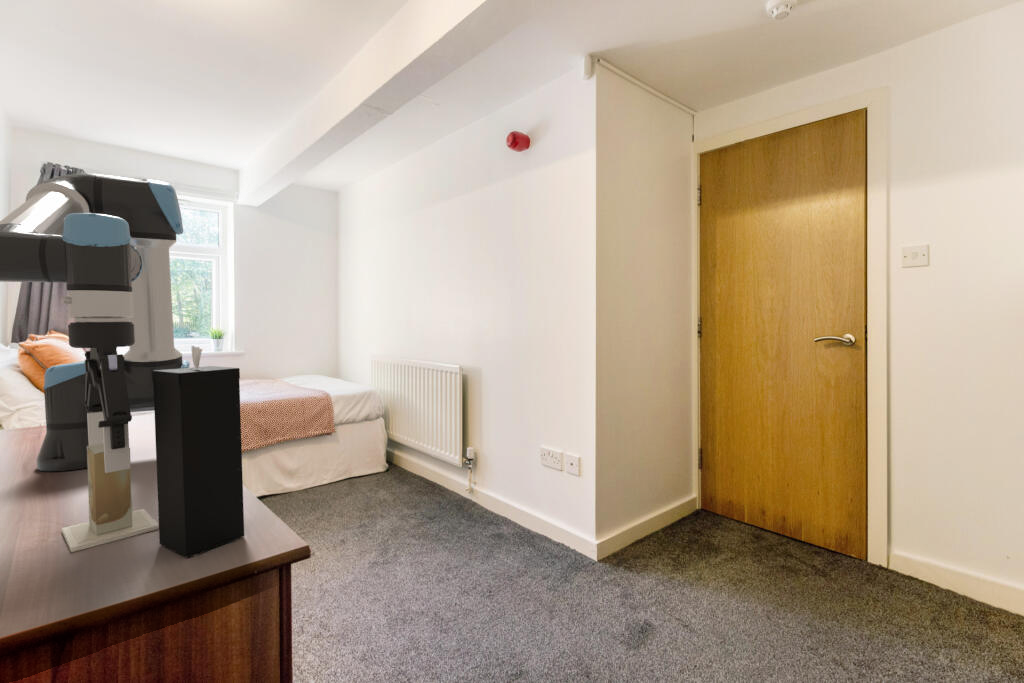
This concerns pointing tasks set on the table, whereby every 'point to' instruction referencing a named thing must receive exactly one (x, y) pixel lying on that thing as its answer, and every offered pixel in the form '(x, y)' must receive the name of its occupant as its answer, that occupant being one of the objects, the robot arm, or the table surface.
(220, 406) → the tissue box
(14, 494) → the table surface
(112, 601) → the table surface
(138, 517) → the coaster
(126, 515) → the skincare box
